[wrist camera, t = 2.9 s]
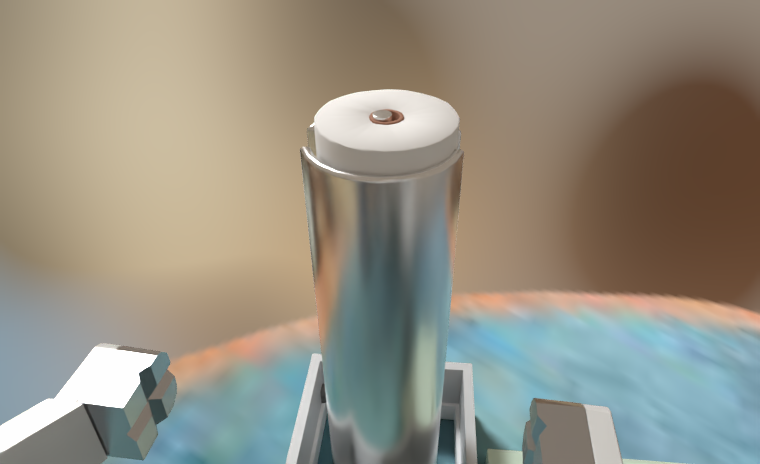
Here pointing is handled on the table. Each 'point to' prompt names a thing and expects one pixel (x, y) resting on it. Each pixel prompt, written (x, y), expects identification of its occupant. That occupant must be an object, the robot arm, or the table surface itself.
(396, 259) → the silver thermos
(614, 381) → the table surface
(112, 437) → the robot arm
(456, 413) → the housing
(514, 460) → the tray
